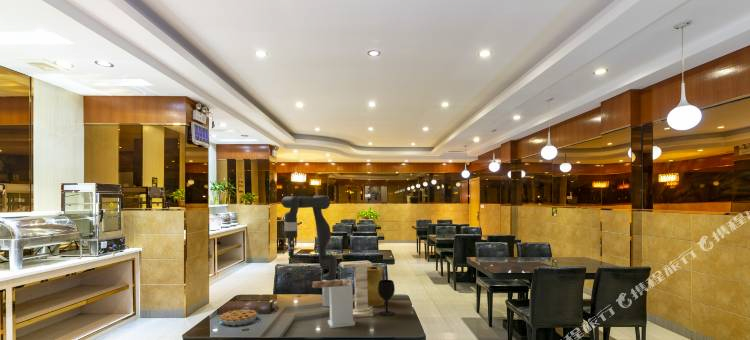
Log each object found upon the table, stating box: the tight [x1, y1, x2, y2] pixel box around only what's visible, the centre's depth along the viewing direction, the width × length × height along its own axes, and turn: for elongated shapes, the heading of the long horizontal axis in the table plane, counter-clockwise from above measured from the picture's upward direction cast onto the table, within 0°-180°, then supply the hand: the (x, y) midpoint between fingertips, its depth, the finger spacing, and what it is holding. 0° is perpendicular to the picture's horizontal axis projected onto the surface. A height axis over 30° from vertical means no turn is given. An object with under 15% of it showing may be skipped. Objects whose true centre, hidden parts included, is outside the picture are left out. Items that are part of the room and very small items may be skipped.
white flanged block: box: [327, 285, 356, 329], centre depth 239 cm, size 10×14×22 cm
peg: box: [312, 278, 353, 289], centre depth 239 cm, size 22×6×3 cm, turn 103°
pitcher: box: [367, 265, 385, 307], centre depth 282 cm, size 17×19×25 cm
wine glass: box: [378, 279, 396, 317], centre depth 258 cm, size 10×10×20 cm
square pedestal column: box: [339, 259, 374, 319], centre depth 258 cm, size 12×18×32 cm, turn 107°
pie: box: [219, 308, 259, 327], centre depth 249 cm, size 22×22×5 cm
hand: (291, 257), depth 245 cm, fingers open, 8 cm apart
